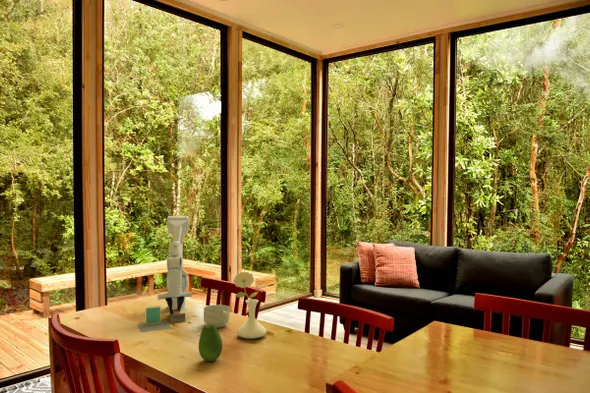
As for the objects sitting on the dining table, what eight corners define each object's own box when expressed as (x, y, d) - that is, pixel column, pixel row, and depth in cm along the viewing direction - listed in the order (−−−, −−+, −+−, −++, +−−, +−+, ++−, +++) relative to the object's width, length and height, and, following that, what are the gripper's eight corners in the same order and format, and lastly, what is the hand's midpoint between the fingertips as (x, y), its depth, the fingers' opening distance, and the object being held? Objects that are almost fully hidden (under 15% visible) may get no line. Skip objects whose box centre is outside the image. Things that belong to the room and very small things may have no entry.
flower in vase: (268, 332, 182) (269, 269, 181) (263, 341, 170) (264, 274, 170) (236, 331, 183) (236, 268, 183) (229, 340, 172) (229, 273, 171)
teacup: (200, 324, 193) (200, 305, 193) (225, 321, 198) (225, 302, 197) (209, 333, 180) (209, 313, 180) (235, 330, 185) (235, 310, 185)
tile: (145, 323, 191) (145, 306, 191) (160, 322, 194) (160, 305, 194) (145, 324, 190) (145, 307, 190) (160, 323, 192) (160, 306, 192)
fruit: (196, 358, 153) (196, 322, 153) (220, 355, 156) (220, 320, 156) (200, 366, 146) (200, 329, 146) (224, 363, 149) (225, 326, 149)
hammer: (166, 315, 205) (166, 307, 205) (179, 314, 207) (179, 306, 207) (170, 323, 193) (170, 315, 193) (185, 321, 195) (185, 313, 195)
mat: (137, 324, 192) (137, 323, 192) (166, 321, 197) (166, 320, 197) (140, 333, 180) (140, 332, 180) (171, 329, 185) (171, 328, 185)
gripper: (159, 286, 195) (159, 318, 195) (193, 283, 201) (193, 314, 201) (156, 283, 201) (156, 314, 201) (190, 280, 207) (189, 310, 207)
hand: (174, 314), depth 201 cm, fingers closed on hammer, 2 cm apart
